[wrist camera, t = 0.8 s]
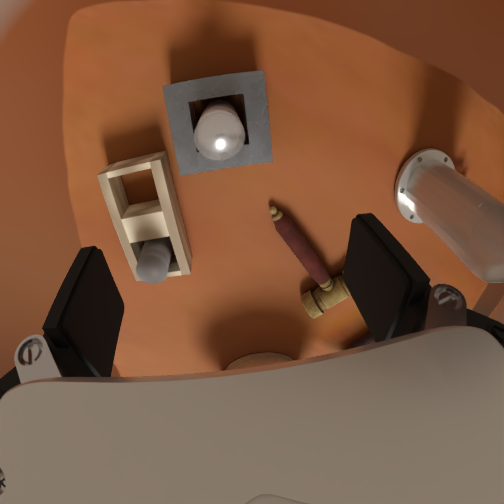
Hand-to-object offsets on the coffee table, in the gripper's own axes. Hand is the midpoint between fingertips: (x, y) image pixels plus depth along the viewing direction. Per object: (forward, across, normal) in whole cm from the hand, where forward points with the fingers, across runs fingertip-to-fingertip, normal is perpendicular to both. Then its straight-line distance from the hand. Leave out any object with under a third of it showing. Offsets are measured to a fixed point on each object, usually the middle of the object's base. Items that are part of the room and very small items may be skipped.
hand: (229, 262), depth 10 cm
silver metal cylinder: (+26, -1, -1) cm, 26 cm away
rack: (+27, +10, +10) cm, 30 cm away
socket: (+26, -1, -1) cm, 26 cm away
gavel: (+26, -12, +20) cm, 35 cm away
